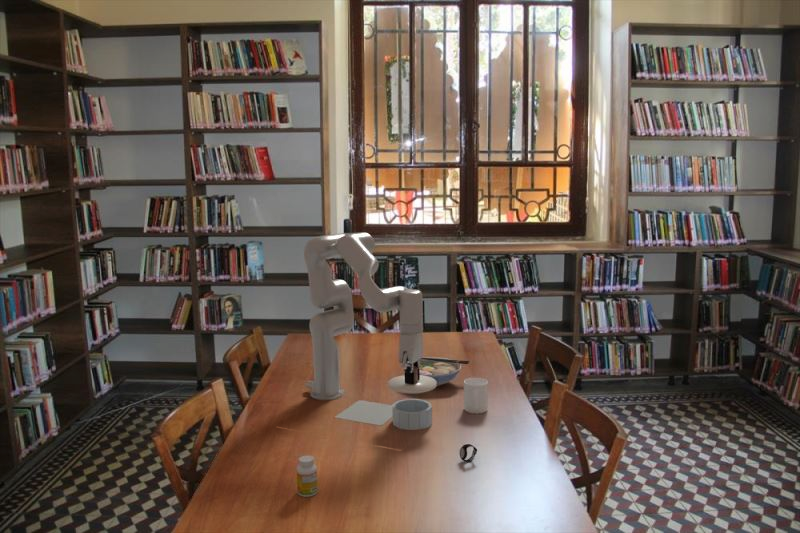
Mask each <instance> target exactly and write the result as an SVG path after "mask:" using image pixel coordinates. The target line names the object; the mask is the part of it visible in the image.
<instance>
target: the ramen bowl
mask: <svg viewBox="0 0 800 533" xmlns="http://www.w3.org/2000/svg"><path fill="white" fill-rule="evenodd" d="M409 362H410V361H408V363H409ZM469 363H470V360H462V359H461V360H460V359H459V360H458V359H452V358H447V357H439V356H438V357H437V356H425V357H423V356H422V358H421V359H420V368H419V369H420V375H423V376H428V377H431V378H433V379H435V380H436V382H437V386H436V387H440V386H443V385H445V384H447V383H449V382H452V381H453V380H455V378H456V377H457V375H458V374H459V373H460V371H461V368H462V364H463V365H469ZM408 366H410V365H408Z"/></svg>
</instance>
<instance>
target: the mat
mask: <svg viewBox="0 0 800 533" xmlns="http://www.w3.org/2000/svg"><path fill="white" fill-rule="evenodd" d="M333 418H335V419H339V420H346V421H351V422H358V423H364V424H369V425H374V426H380V427H382V426H383V425H384V424H386V423H387V422H388V421H390V419H392V404H391V405H390V404H387V403H380V402H373V401H368V400H367V401H366V400H362V399H359V400H358V401H356V402H354V403H352V404H351V405H350V406H349V407H347V408H345V409H344V410H343V411H341V412H340V413H338V414H337V415H335V416H334V417H333Z"/></svg>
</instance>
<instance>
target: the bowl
mask: <svg viewBox="0 0 800 533" xmlns="http://www.w3.org/2000/svg"><path fill="white" fill-rule="evenodd" d="M391 405H392V418H391V419H392V420H391V421H392V425H393V426H394V427H396V428H398V429H401V430H405V431H406V430H407V431H416V430H423V429H424V430H426V429H428V428H430V427H431V426H432V425H433V405H432V403H431V402H429V401H427V400H425V399H419V398H403V399H401V400H397V401H395V402H394V403H392V404H391Z"/></svg>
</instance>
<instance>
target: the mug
mask: <svg viewBox="0 0 800 533" xmlns="http://www.w3.org/2000/svg"><path fill="white" fill-rule="evenodd" d="M488 390H489V382H488V380H487V379H484V378H481V377H470V378H466V379H464V380H463V409H464V411H465V412H466V413H468V414H474V415H479V413H480V414H483V413H486V412H487V411H488V408H489V407H488V404H489V403H488V402H489V400H488V398H489V396H488V392H489V391H488Z"/></svg>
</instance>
